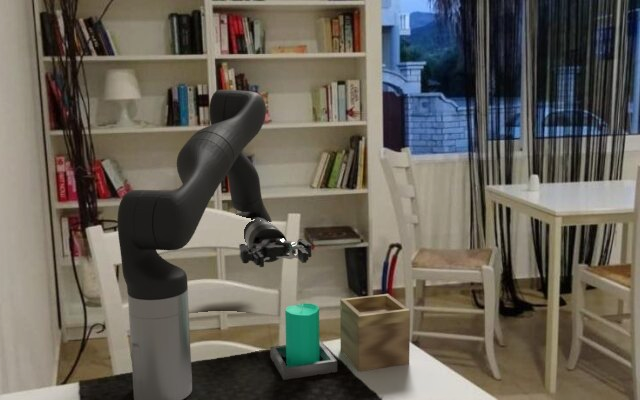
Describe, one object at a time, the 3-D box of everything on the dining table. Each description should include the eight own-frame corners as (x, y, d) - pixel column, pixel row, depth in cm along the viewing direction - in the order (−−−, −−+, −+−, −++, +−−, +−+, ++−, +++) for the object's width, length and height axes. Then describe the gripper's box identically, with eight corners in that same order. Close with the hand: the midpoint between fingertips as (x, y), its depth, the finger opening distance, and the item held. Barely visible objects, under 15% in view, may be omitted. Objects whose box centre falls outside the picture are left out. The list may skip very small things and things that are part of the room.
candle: (321, 358, 115) (320, 295, 113) (317, 372, 109) (317, 306, 107) (288, 357, 116) (287, 294, 114) (283, 371, 110) (282, 305, 108)
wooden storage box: (359, 371, 109) (359, 316, 108) (340, 350, 118) (340, 299, 117) (409, 363, 112) (410, 310, 111) (387, 343, 121) (387, 293, 120)
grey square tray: (283, 379, 106) (283, 368, 106) (270, 357, 115) (270, 347, 115) (337, 371, 109) (337, 360, 109) (320, 350, 118) (320, 340, 118)
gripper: (231, 226, 134) (246, 244, 119) (296, 221, 138) (318, 238, 123) (233, 260, 135) (248, 282, 120) (296, 254, 140) (319, 274, 124)
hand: (283, 260), depth 122 cm, fingers open, 8 cm apart
